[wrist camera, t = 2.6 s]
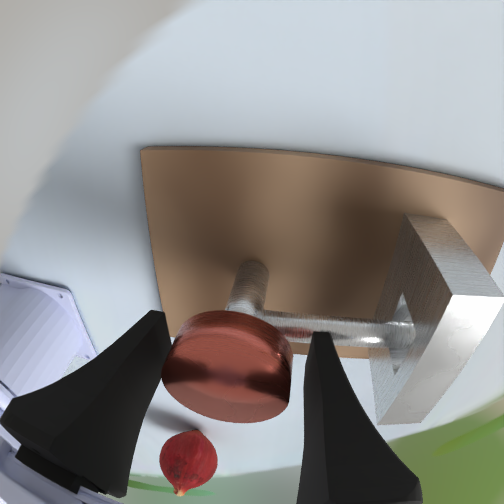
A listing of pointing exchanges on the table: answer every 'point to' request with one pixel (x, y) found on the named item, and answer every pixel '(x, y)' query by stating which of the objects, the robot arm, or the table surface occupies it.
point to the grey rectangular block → (429, 317)
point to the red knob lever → (256, 351)
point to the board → (296, 226)
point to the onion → (188, 460)
